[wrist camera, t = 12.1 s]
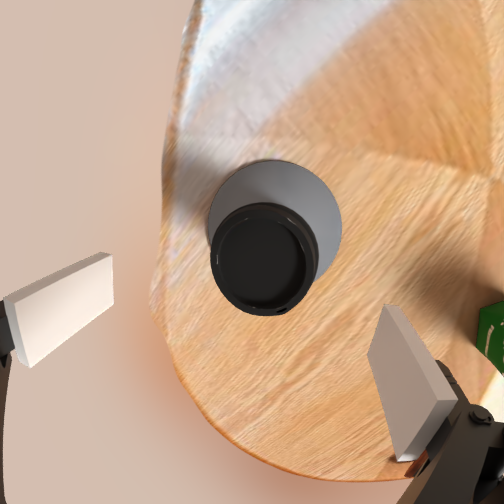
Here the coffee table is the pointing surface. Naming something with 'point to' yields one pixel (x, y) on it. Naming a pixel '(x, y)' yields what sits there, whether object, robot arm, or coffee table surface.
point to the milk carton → (492, 334)
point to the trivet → (284, 201)
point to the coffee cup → (264, 258)
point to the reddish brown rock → (416, 464)
